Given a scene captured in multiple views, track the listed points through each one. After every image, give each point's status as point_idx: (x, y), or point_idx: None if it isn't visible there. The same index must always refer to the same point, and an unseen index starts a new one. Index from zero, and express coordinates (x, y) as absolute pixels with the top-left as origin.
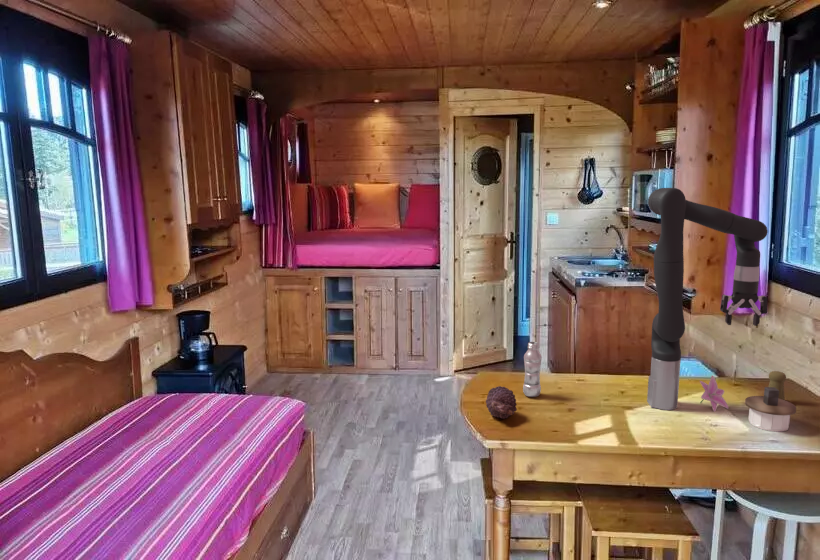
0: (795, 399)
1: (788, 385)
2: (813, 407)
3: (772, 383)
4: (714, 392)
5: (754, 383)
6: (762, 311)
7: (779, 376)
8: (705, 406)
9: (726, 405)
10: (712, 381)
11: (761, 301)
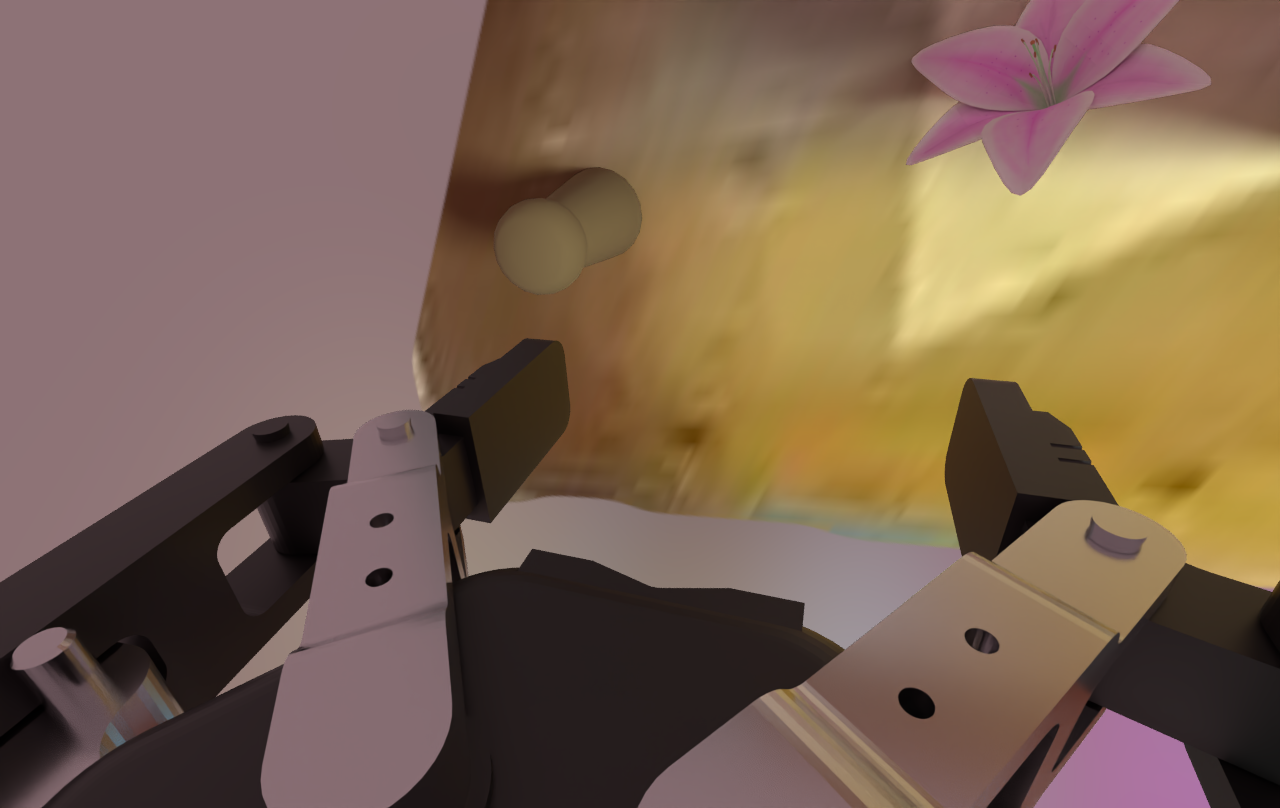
0: None
1: None
2: (454, 154)
3: (584, 220)
4: (1005, 116)
5: (604, 448)
6: (313, 466)
7: (534, 206)
8: None
9: (928, 61)
10: (1036, 144)
11: (115, 676)
